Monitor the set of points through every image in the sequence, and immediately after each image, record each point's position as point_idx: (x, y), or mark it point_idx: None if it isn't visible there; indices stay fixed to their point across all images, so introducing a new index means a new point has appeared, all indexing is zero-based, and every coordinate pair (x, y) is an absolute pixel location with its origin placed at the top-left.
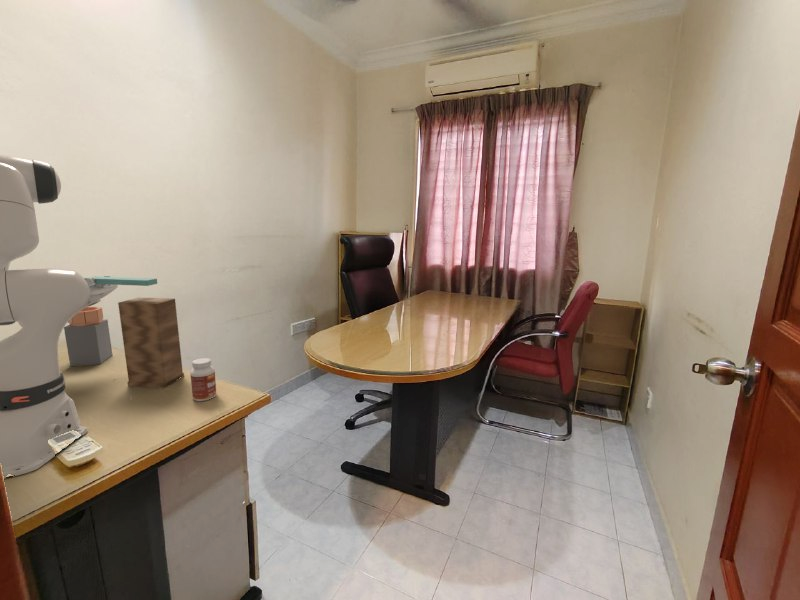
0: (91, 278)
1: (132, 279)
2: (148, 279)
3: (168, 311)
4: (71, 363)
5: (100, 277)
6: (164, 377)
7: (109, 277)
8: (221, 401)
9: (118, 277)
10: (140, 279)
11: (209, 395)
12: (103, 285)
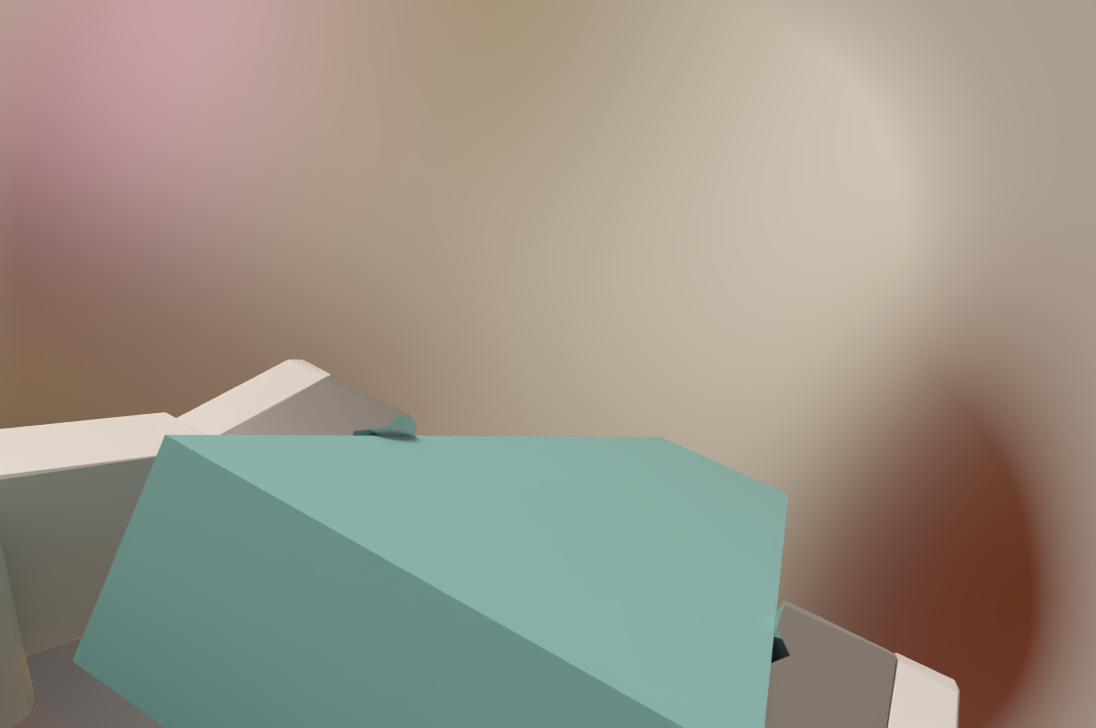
0: (882, 652)
1: (751, 493)
2: (724, 468)
3: None
4: None
5: (516, 500)
6: None
7: (539, 465)
8: None
9: (561, 446)
10: (734, 479)
11: None
12: (32, 702)
